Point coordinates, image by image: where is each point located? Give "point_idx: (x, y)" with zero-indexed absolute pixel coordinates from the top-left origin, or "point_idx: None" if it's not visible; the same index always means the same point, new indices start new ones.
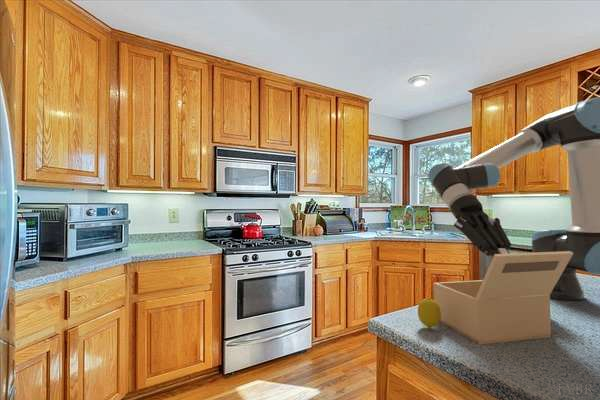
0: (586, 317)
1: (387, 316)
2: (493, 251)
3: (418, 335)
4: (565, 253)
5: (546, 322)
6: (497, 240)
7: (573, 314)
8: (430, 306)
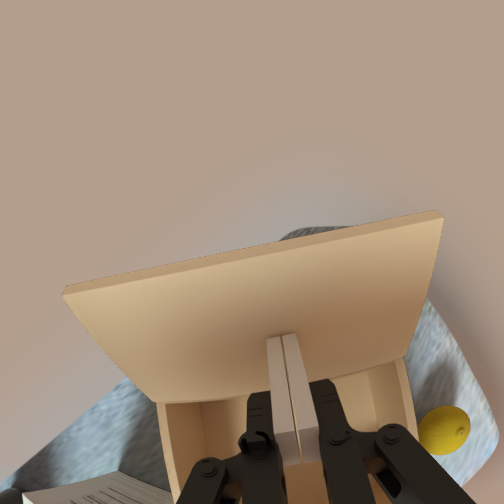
0: (61, 445)
1: (474, 469)
2: (347, 426)
3: (457, 388)
4: (94, 280)
5: None
6: (280, 495)
7: (68, 462)
8: (458, 410)
